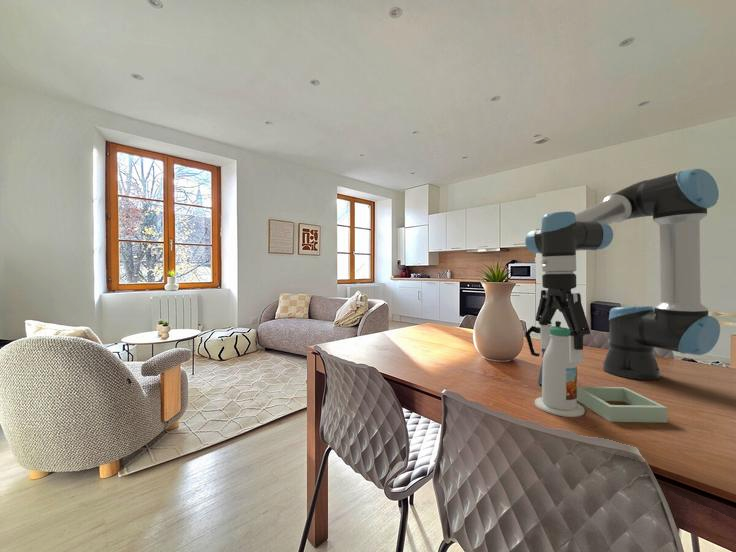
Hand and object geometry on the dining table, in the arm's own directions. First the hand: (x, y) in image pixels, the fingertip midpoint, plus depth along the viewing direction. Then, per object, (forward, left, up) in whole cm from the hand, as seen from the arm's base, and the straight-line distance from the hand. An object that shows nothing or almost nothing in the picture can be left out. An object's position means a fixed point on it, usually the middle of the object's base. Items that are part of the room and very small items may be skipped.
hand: (559, 354), depth 81 cm
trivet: (0, 0, -14) cm, 14 cm away
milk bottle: (0, 0, -13) cm, 13 cm away
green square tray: (-14, +1, -14) cm, 19 cm away
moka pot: (-7, -16, -14) cm, 22 cm away
